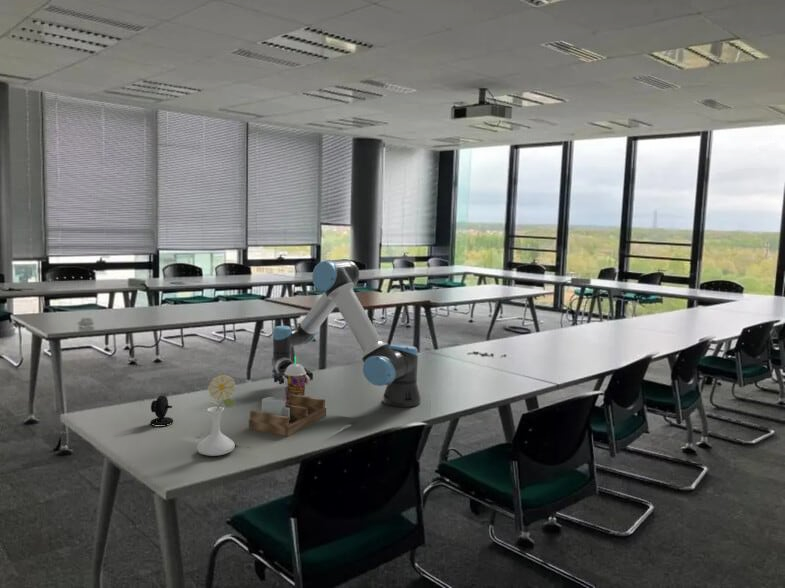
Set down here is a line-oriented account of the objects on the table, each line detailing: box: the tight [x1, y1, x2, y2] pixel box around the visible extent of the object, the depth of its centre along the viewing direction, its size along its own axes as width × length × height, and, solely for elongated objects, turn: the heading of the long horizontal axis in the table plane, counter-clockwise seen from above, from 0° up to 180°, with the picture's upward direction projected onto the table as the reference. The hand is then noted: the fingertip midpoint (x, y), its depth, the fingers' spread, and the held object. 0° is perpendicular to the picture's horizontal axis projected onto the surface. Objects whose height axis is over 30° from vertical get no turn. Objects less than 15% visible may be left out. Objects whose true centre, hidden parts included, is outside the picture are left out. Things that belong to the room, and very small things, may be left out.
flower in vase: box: [196, 374, 237, 457], centre depth 191 cm, size 13×11×25 cm
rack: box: [248, 394, 327, 437], centre depth 218 cm, size 16×24×8 cm, turn 155°
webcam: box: [150, 395, 174, 425], centre depth 217 cm, size 8×8×10 cm
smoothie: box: [284, 355, 306, 403], centre depth 239 cm, size 8×8×20 cm
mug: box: [261, 396, 290, 421], centre depth 213 cm, size 10×8×9 cm
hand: (297, 382), depth 234 cm, fingers closed on smoothie, 8 cm apart
